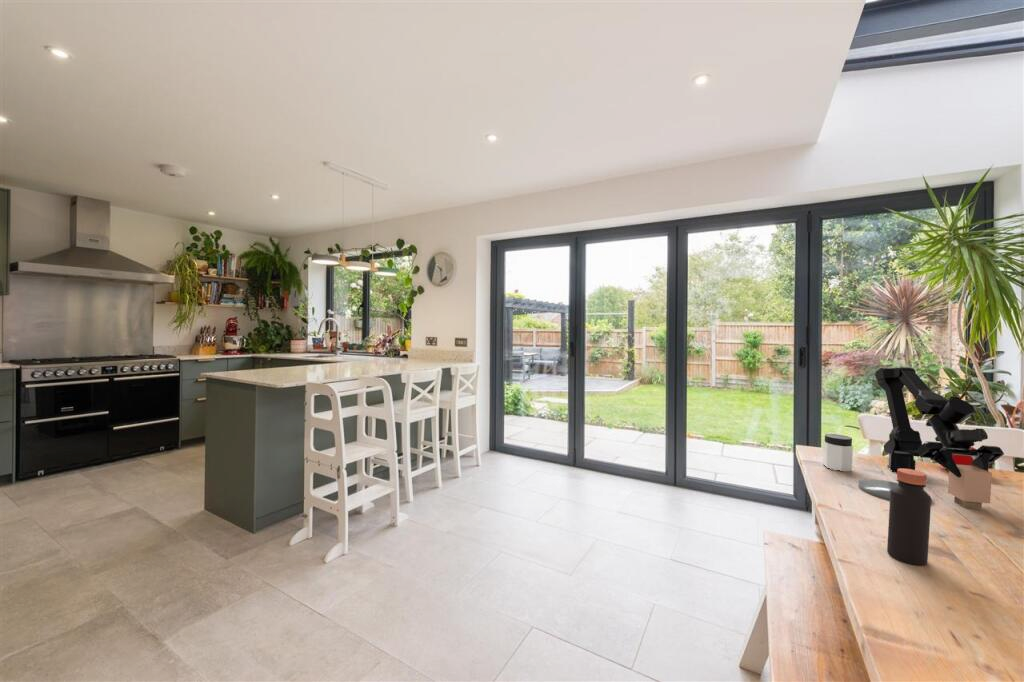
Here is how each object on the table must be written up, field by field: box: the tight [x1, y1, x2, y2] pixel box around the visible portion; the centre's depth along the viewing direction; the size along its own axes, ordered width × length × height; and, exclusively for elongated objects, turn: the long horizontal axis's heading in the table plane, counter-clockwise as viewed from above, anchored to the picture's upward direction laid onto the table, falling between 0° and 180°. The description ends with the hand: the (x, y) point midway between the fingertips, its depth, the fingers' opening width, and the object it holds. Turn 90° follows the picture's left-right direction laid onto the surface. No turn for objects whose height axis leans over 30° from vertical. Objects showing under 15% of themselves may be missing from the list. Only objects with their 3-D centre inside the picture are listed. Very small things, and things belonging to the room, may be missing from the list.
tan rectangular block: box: [947, 465, 993, 504], centre depth 126 cm, size 6×6×9 cm
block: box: [953, 496, 983, 510], centre depth 126 cm, size 4×4×4 cm
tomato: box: [940, 446, 976, 469], centre depth 157 cm, size 13×12×11 cm
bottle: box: [886, 468, 932, 566], centre depth 96 cm, size 7×7×20 cm
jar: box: [821, 433, 854, 472], centre depth 158 cm, size 9×8×12 cm
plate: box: [857, 478, 898, 501], centre depth 135 cm, size 17×17×1 cm
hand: (973, 477), depth 124 cm, fingers closed on tan rectangular block, 6 cm apart
